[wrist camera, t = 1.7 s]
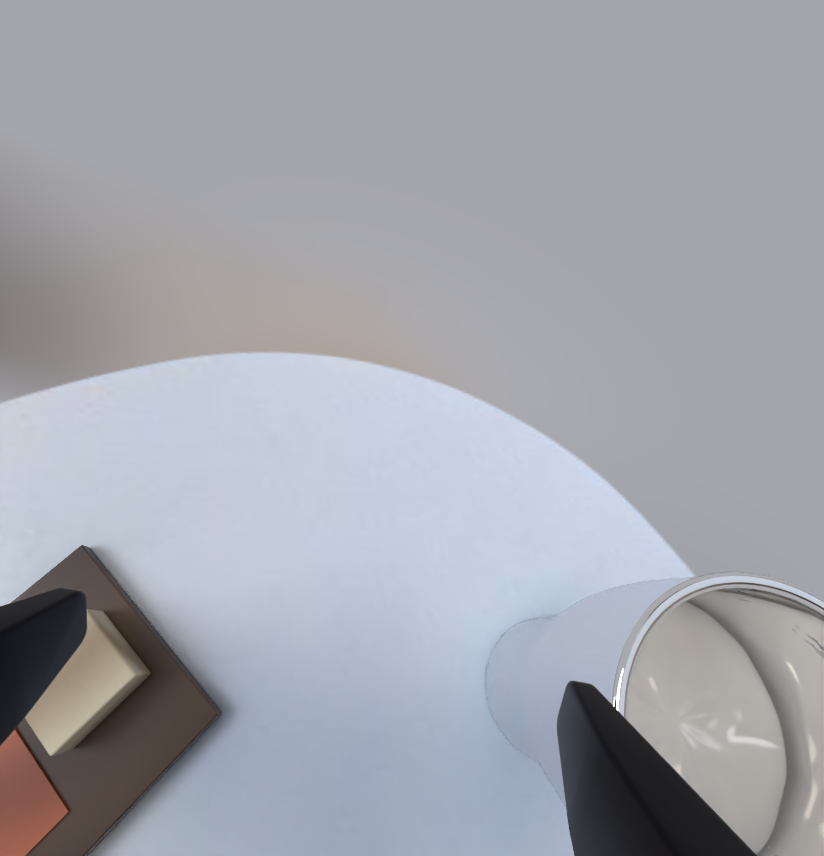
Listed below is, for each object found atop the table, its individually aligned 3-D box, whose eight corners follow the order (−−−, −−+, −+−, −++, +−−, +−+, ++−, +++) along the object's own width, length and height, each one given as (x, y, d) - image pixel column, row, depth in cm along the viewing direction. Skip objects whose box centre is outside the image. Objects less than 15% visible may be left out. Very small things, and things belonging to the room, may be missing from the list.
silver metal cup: (478, 774, 21) (637, 1017, 7) (472, 607, 24) (578, 557, 10) (632, 776, 21) (1070, 1016, 7) (608, 610, 24) (890, 564, 10)
